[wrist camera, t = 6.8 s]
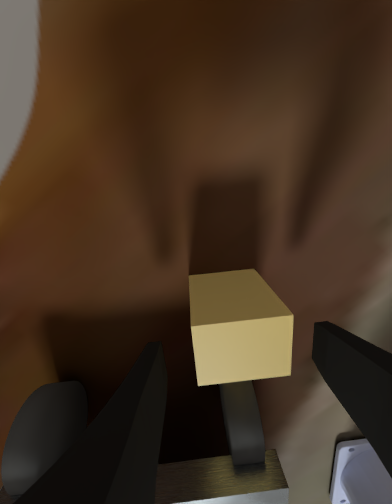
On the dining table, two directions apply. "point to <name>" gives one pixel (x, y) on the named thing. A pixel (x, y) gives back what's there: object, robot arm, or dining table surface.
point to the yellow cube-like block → (238, 328)
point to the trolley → (168, 475)
